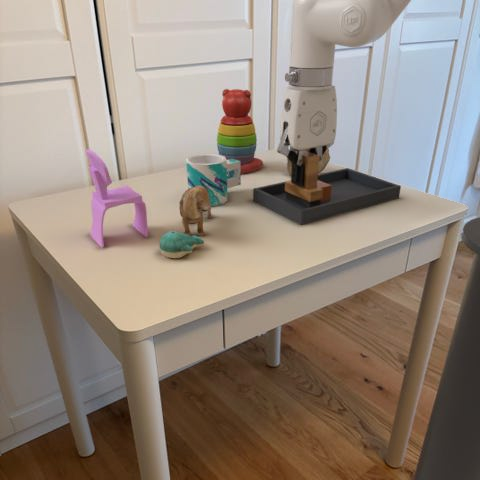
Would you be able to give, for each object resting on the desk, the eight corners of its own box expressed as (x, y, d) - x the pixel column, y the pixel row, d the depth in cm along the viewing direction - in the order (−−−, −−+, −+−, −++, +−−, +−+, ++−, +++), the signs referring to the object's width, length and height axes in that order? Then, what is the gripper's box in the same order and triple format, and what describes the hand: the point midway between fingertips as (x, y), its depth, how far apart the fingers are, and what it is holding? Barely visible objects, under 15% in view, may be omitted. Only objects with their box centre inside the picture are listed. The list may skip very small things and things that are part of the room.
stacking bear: (265, 165, 122) (266, 86, 113) (251, 176, 115) (251, 93, 105) (225, 161, 126) (223, 84, 116) (209, 172, 118) (205, 91, 108)
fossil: (285, 145, 116) (328, 136, 113) (289, 155, 120) (330, 148, 117) (286, 178, 113) (330, 171, 111) (290, 188, 117) (332, 181, 115)
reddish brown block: (330, 199, 99) (331, 185, 97) (315, 203, 97) (316, 188, 96) (317, 194, 102) (318, 180, 100) (302, 198, 100) (303, 183, 98)
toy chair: (153, 238, 85) (143, 149, 77) (104, 250, 81) (87, 157, 73) (135, 223, 91) (123, 139, 83) (88, 233, 87) (71, 146, 79)
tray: (346, 179, 112) (347, 167, 111) (399, 198, 101) (401, 185, 100) (253, 201, 101) (253, 188, 99) (300, 225, 90) (301, 211, 88)
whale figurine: (154, 251, 81) (151, 229, 79) (193, 240, 84) (191, 219, 82) (170, 264, 77) (168, 241, 75) (210, 252, 80) (209, 230, 78)
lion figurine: (212, 244, 83) (210, 191, 78) (180, 245, 83) (176, 192, 78) (212, 212, 95) (210, 165, 90) (184, 213, 95) (181, 166, 90)
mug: (180, 199, 102) (177, 158, 97) (223, 186, 109) (222, 147, 104) (206, 209, 97) (204, 166, 92) (250, 195, 104) (250, 154, 99)
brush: (321, 206, 96) (325, 157, 91) (309, 209, 94) (313, 159, 89) (295, 195, 101) (298, 148, 96) (284, 198, 100) (286, 150, 95)
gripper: (286, 84, 79) (282, 196, 89) (359, 76, 87) (348, 180, 97) (260, 79, 85) (258, 185, 95) (331, 72, 92) (322, 171, 102)
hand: (304, 182), depth 96 cm, fingers closed on brush, 2 cm apart
